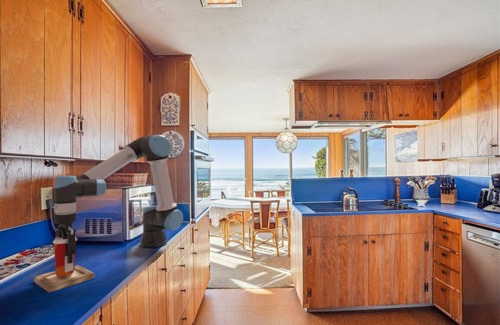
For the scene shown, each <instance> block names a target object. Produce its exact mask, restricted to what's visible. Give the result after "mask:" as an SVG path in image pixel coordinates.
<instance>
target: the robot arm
mask: <svg viewBox="0 0 500 325" xmlns="http://www.w3.org/2000/svg"><path fill="white" fill-rule="evenodd" d="M171 151H172V146H171V142H170V140H169V139H168V138H167V137H166V136H165V135H162V134H154V135H147V136H146V135H143V136H140V137H138V138H136V139H134V140H133V141H131V142H130V143H128V144H127V145H124V147H123V148H122V150H120V151H119V152H116V153H114V154H113V155H112V156H110V157H108V158H107V159H106V160H103V161H102V162H100V163H98V164H97V165H95V166H93V167H92V168H90V169H89V170H87V171H85V172H84V173H82V174H80V175H79V176H76V175H58V176H56V177H55V178H54V184H53V185H54V186H53V190H54V191H53V192H54V195H53V197H54V202H53V204H54V206H52V208H53V211H54V212H53V213H54V215H53V217H54V218H53V223H54V225H55V227H54V228H55V238H57V237H62V239H67V241H65V242H68V243H65V250H66V255H64V256H65V272H69V271H72V270H73V254H75V255H76V254H77V247H76V246H77V240H76V241H75V236H76V230H77V229H76V228H73V225H72V224H73V223H75V222H76V221H77V213H76V212H77V198H88V197H90V198H91V197H99V196H103V195H105V194H106V192H107V182H106V181H105V179H106V178H108V177H110V176H111V175H112V174H115V172H117V171H119V170H120V169H122V168H123V167H125V166H126V165H128V164H129V163H131V162H136V161H137V160H139V159H142V158H145V159H146V162H147V164H149V165H150V170H151V175H152V180H153V185H154V190H155V197H156V203H157V205H149V206H145V207H144V208H143V210H142V211H143V212H142V215H143V216H142V217H143V218H142V221H143V222H142V225H143V226H142V235H141V237H140V241H139V246H140V247H141V248H147V249H149V248H158V247H159V248H160V247H163V246H165V245H166V244H167V243H168V242H167V241H168V240H167V237H166V234H165V231H164V230H166V231H176V230H178V229H179V228H180V226H181V225H182V224H183V221H184V214H183V212H182V211H181V210H180V209H178V204H177V203H176V202H174V197H173V192H172V187H171V181H170V175H169V174H170V173H169V169H168V162H167V161H168V160H169V159H170V158H169V154H170V153H171ZM65 236H66V237H65Z"/></svg>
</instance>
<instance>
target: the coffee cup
mask: <svg viewBox="0 0 500 325" xmlns="http://www.w3.org/2000/svg"><path fill="white" fill-rule="evenodd" d="M65 237H66V236H65ZM65 241H67V239H62V237H57V238H56V237H54V240H53V241H52V244H53V248H54V266H55V271H56V276H57V277H64V276H68V275H71V274H73V273H74V266H75V262H76V259H75V258H76V254H73V270H72V271H69V272H65V256H64V255H66V250H65V243H68V242H65ZM75 241H76V242H77V241H78V238H77V237H76V235H75Z"/></svg>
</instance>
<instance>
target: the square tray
mask: <svg viewBox="0 0 500 325" xmlns="http://www.w3.org/2000/svg"><path fill="white" fill-rule="evenodd" d="M92 279H95V272H93V271H91V270H89V269H87V268H86V267H83V266H81V265H79V264H77V265H76V264H75V265H74V273H73V274H71V275H68V276H64V277H57V276H56V270H54V271H51V272H45V273H42V274H39V275H35V276H34V277H33V282H34V283H35V284H37V285H38V286H39V287H40V288H42V289H43V290H45V292H47V293H52V292H55V291H59V290H61V289H64V288H67V287H70V286H73V285H76V284H81V283H83V282H86V281H87V282H88V281H89V280H92Z"/></svg>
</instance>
